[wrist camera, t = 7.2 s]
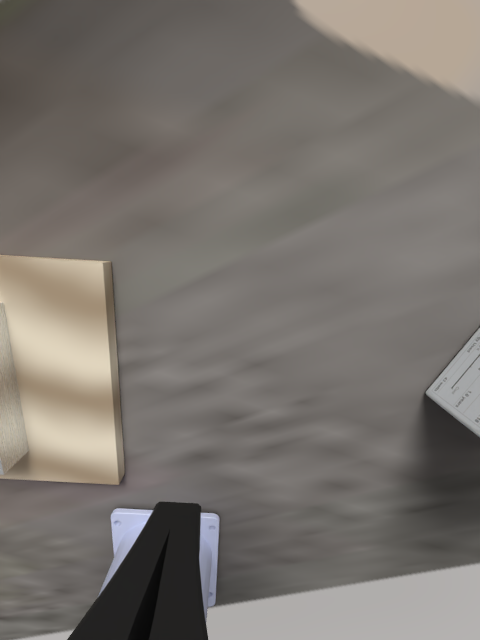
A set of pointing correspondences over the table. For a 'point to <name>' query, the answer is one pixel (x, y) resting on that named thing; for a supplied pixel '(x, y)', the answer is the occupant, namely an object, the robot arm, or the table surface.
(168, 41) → the table surface
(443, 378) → the light bulb box
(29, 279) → the board
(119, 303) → the table surface
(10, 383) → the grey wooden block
